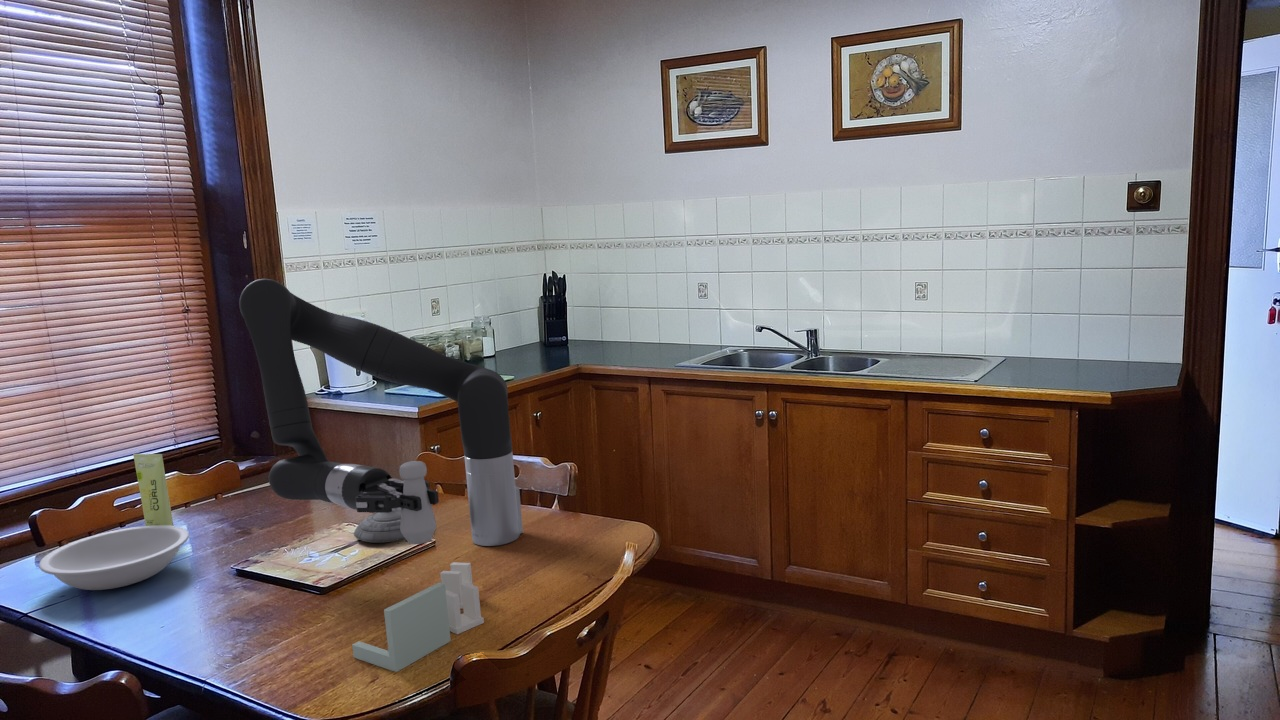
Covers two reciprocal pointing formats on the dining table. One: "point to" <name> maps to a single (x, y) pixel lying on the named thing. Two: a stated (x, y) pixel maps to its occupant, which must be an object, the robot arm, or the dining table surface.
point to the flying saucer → (380, 527)
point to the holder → (410, 630)
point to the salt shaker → (421, 522)
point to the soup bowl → (115, 557)
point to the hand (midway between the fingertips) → (428, 501)
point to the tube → (153, 489)
